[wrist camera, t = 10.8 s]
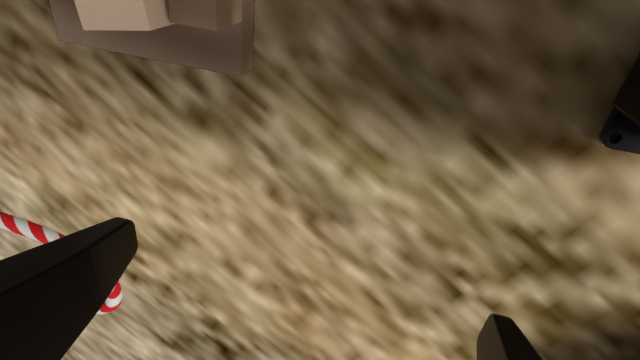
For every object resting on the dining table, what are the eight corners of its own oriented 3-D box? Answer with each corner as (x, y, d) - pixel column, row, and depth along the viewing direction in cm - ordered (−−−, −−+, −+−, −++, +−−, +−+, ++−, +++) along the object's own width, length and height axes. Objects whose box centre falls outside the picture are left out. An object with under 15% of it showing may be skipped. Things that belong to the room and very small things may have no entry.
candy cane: (-54, 181, 29) (124, 279, 30) (-37, 173, 30) (135, 267, 31) (-48, 245, 33) (108, 328, 34) (-33, 235, 34) (118, 316, 35)
